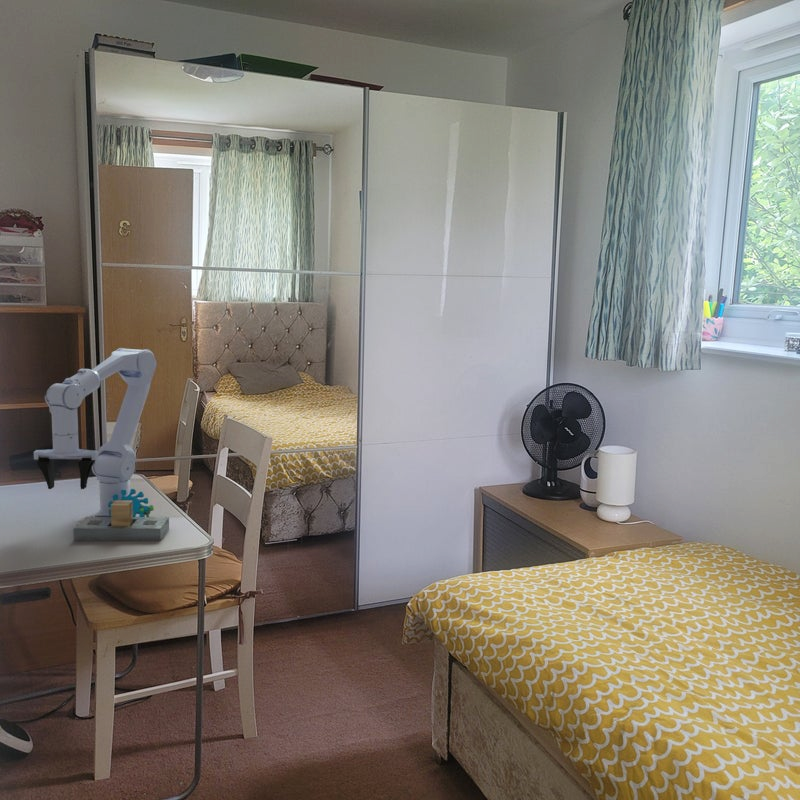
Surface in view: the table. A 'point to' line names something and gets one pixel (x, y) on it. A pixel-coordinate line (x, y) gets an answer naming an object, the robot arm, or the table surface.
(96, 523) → the grey holed base
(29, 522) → the table surface
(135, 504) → the gear
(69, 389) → the robot arm
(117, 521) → the peg
